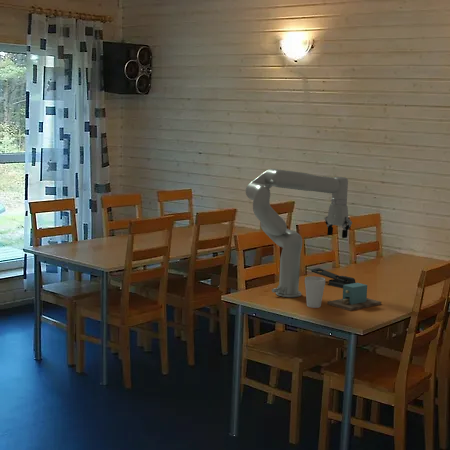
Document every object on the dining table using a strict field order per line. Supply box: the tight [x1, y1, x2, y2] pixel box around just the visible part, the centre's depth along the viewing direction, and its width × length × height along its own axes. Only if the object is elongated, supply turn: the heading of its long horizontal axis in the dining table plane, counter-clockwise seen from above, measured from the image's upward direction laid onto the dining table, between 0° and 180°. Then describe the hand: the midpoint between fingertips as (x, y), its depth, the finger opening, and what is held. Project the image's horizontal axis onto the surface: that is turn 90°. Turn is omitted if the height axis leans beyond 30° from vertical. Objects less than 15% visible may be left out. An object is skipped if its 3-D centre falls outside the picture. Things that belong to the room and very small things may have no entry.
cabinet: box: [341, 282, 368, 304], centre depth 335 cm, size 11×6×8 cm, turn 128°
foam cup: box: [304, 275, 326, 309], centre depth 329 cm, size 10×9×13 cm
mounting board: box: [326, 297, 382, 312], centre depth 335 cm, size 22×14×3 cm, turn 129°
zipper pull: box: [310, 267, 357, 289], centre depth 375 cm, size 9×7×25 cm
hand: (337, 236), depth 354 cm, fingers open, 9 cm apart
